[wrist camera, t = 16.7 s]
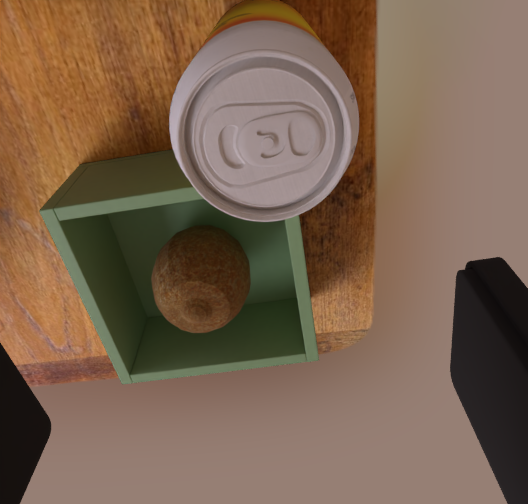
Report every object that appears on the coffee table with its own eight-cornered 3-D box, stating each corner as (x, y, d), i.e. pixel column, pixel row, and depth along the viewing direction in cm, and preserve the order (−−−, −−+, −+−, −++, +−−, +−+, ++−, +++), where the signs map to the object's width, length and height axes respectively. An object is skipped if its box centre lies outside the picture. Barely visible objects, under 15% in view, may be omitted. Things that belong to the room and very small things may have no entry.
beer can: (198, 7, 25) (135, 55, 12) (308, -14, 25) (360, 14, 12) (221, 117, 28) (191, 244, 16) (320, 100, 28) (370, 218, 15)
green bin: (286, 130, 29) (293, 170, 23) (309, 298, 36) (319, 360, 30) (79, 164, 30) (38, 210, 24) (142, 321, 37) (121, 384, 31)
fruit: (245, 285, 34) (241, 363, 28) (161, 273, 34) (137, 351, 27) (258, 211, 31) (258, 281, 24) (166, 198, 31) (139, 265, 24)
